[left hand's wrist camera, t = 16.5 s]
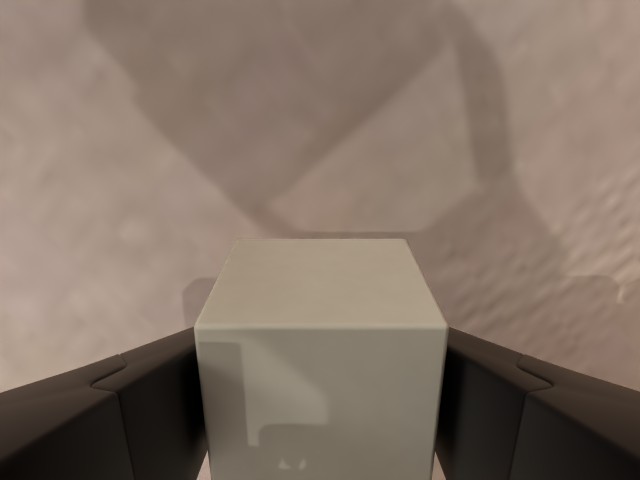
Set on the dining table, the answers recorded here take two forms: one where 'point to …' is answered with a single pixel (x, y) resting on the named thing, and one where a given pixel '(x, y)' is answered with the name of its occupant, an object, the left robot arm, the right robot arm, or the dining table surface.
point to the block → (321, 362)
